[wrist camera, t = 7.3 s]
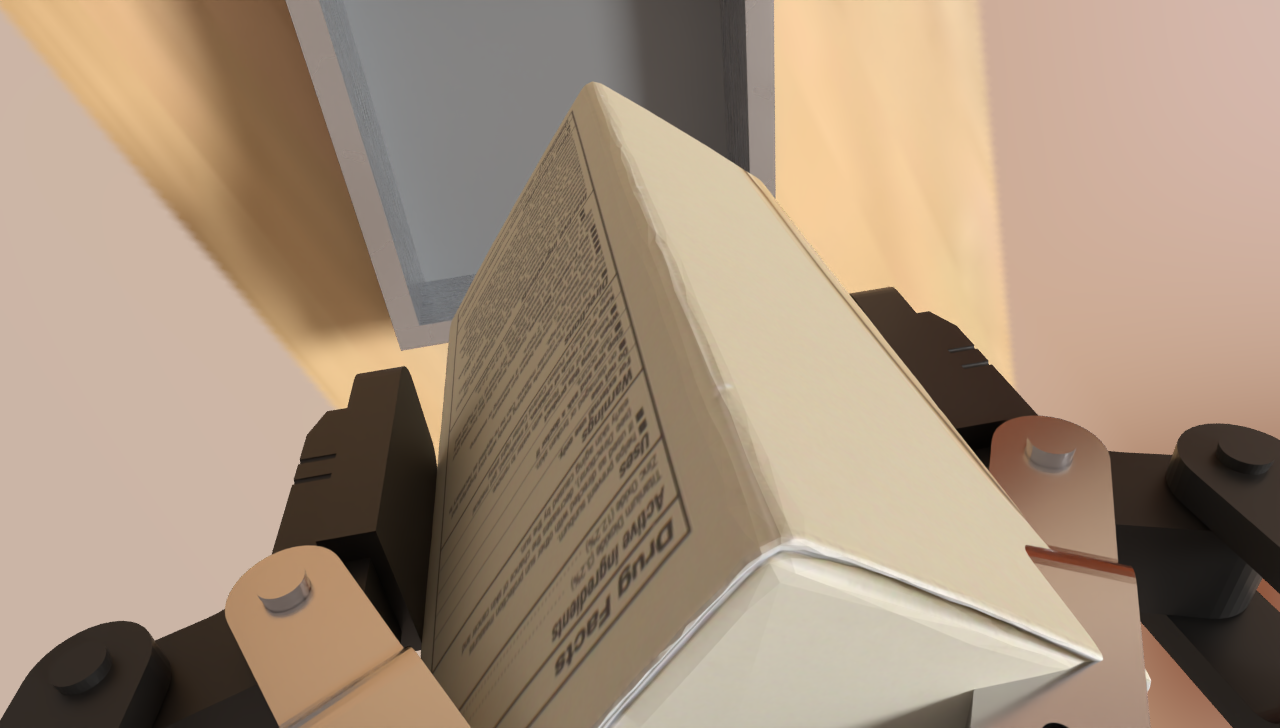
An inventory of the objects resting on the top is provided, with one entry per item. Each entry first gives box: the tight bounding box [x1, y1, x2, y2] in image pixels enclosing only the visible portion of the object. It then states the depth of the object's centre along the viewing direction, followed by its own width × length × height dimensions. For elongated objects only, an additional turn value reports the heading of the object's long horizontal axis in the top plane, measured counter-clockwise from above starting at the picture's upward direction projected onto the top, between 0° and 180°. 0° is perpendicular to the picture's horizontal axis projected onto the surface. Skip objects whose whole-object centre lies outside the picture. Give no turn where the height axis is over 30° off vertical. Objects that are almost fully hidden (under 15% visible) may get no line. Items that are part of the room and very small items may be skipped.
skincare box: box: [421, 81, 1151, 728], centre depth 12 cm, size 6×4×12 cm
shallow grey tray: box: [285, 0, 776, 351], centre depth 24 cm, size 13×13×3 cm
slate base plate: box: [343, 0, 727, 282], centre depth 26 cm, size 14×14×1 cm
